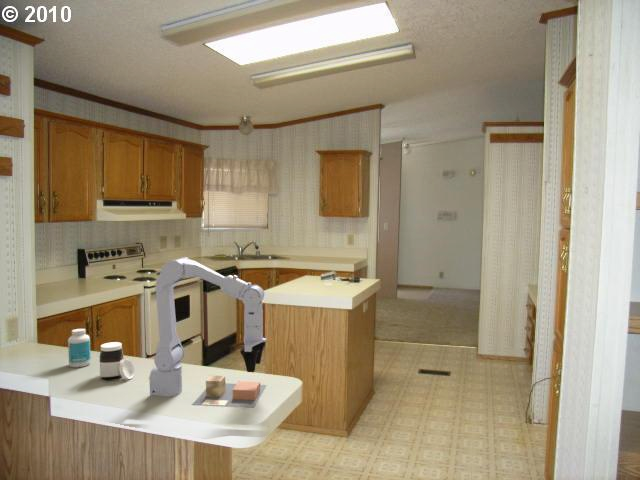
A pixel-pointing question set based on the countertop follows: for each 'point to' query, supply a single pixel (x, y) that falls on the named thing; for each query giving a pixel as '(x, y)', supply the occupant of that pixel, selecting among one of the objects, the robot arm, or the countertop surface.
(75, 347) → the pill bottle
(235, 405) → the grey square mat
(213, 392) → the oak cube
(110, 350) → the spread jar
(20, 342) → the countertop surface
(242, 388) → the terracotta slab
